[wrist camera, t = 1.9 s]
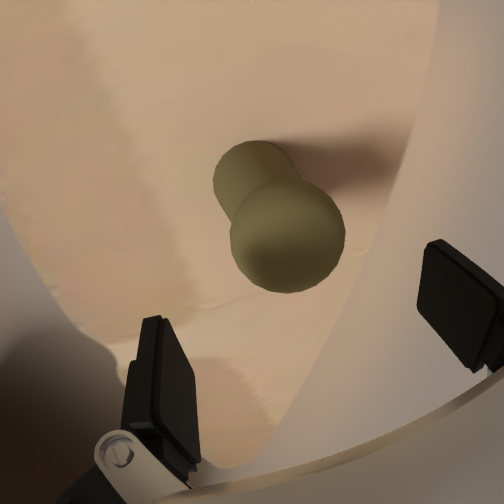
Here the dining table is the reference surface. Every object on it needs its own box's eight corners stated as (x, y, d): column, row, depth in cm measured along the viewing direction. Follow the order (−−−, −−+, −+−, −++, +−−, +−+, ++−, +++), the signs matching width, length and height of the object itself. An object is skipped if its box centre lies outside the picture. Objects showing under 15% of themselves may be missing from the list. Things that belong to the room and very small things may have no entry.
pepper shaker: (308, 160, 22) (389, 217, 12) (274, 230, 24) (321, 325, 14) (233, 127, 20) (263, 156, 10) (200, 204, 22) (201, 295, 12)
